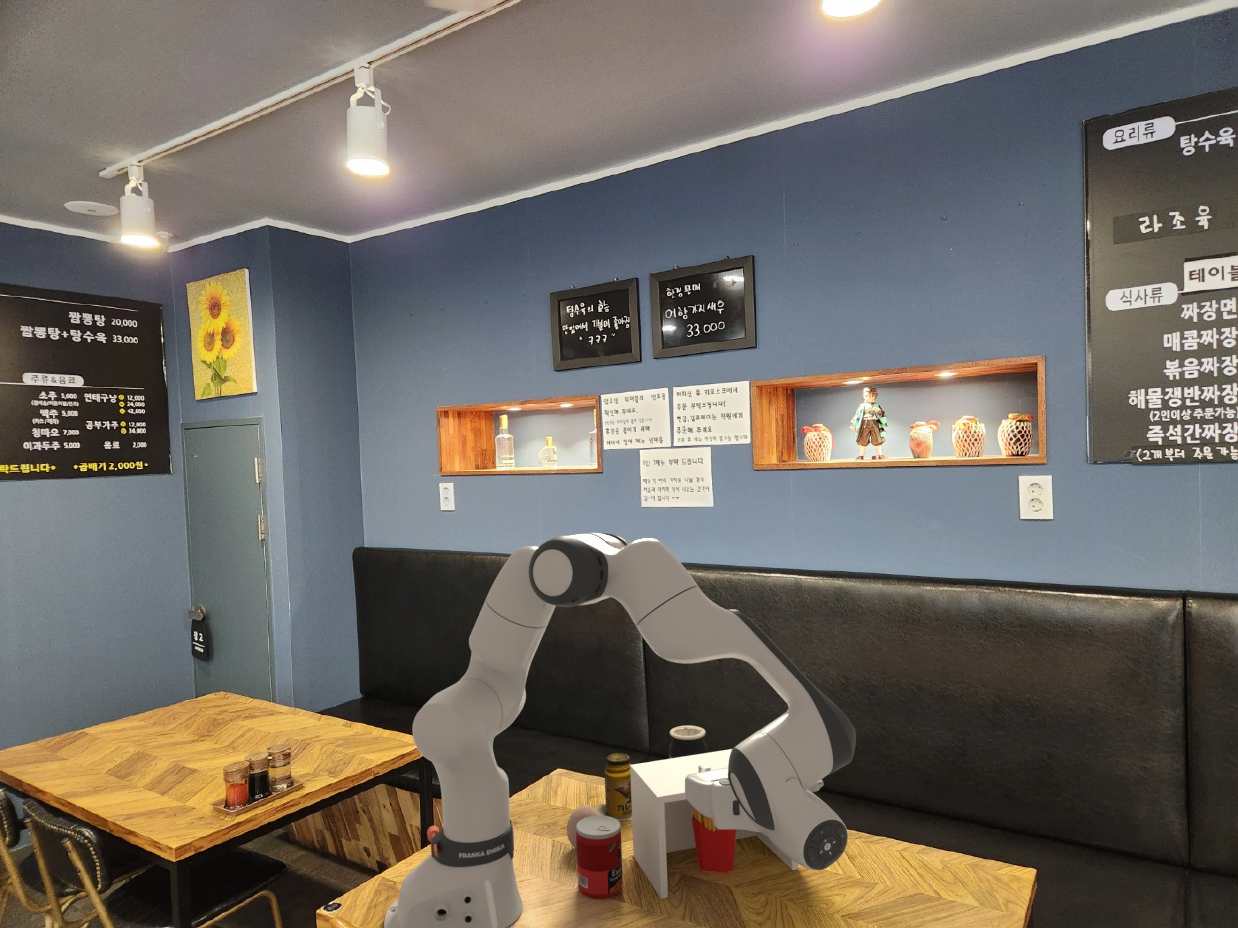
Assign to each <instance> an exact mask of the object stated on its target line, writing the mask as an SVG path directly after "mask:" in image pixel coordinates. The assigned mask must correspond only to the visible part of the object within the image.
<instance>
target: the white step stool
mask: <svg viewBox="0 0 1238 928" xmlns="http://www.w3.org/2000/svg"><path fill="white" fill-rule="evenodd" d="M732 749H733V748H730V749H725V750H717V751H710V752H708V753H704V754H697V755H691V756H685V757H678V758H672V759H670V758H667V759H660V760H653V761H649V762H642V763H635V764H631V765H630V774H631V801H632V820H631V825H632V850H633V851H632V852H633V855H632V856H633V858H634V859H635V861H636V863H638V865H639V867H640V868H641V870H642V871H643V873H644V874H645V876H646V878H647V880H649V881H650V884H651V886H652V887H653V888H654V890H655V891H656V893H657V894H658V896H659V897H660V899H665V898H668V897H669V895H668V894H669V893H668V892H669V891H668V890H669V889H668V869H667V868H668V864H667V854H668V853H673V852H679V851H685V850H689V849H694V848H695V849H696V844H695V837H694V830H693V822H692V818H693V815H694V811H693V806H692V805H691V804H690V803H689V802H688V800H687V798H686V795H685V778H686V776H687V775H689V774H694V773H699V771H698V767H699V766H700V765H708V766H709V767H711V770H717V769H722V768H728V764H729V757H730V753H731V751H732ZM755 836H756V837H757V838H758V839H759V840H760V841H761V842H762V843H764V845H766V847H768V849H769V850H771V851H772V852H773V853H774V854H775V855H776V857H778V858H779V859H780V860H781V861H782V862H783V863H784V864H785V865H786V866H787V867H789V869H791V870H792V871H795V870H797V871H798V870H799V864H798V863H797V862H795V861H793V860H792V859H791V858H789V857H788V856H787V855H785V854H784V853H783V852H782V851H781V850H780V849H778V848H777V847H776V846H775V845H774V844H773V843H772V842H771V840H770V839H769V837H768V836H766V835H764V834H763V833H761V832H755V831H749V830H741V829H736V839H735V841H736V840H740V839H747V838H751V837H755Z"/></svg>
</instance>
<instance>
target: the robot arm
mask: <svg viewBox="0 0 1238 928" xmlns="http://www.w3.org/2000/svg"><path fill="white" fill-rule="evenodd" d="M606 599H615V600H616V601H617V602H619V603H620V604H621V605H622V606H623V608H624V609H625V611H626V612H627V614H628V615H629V617H630V618H631V620H632V622H633V623H634V625H635V627H636V629H637V631H638V632H639V633H640V635H641V636H642V638H643V639H644V640H645V642H646V643H647V644H648V646H649V648H650V649H651V650H652V651H653V653H655V654H656V655H657V656H658V657H660V658H662V659H663V660H666V661H668V662H672V663H677V664H695V663H698V664H699V663H704V662H708V661H713V660H718V659H730V658H731V659H732V658H733V659H737V660H738V659H739V660H741V661H745V662H746V663H748V664H750V665H751V666H752V667H753V668H754V669H755V670H756V671H757V672H758V673H759V674H760V676H762V677H763V679H764V680H765V681H766V683H768V684H769V686H770V687H772V689H773V690H775V692H776V693H777V694H778V695H779V696H780V698H781V699H783V701H784V702H785V703H786V705H787V706H788V708H787V710H786V711H785V712H784V713H782V715H780V716H779V717H777V718H775V719H774V720H773V721H771V722H769V723H768V724H767V725H765V726H764V727H762V728H761V729H759V730H757V731H756V732H754V733H753V734H751V735H750V736H748V737H747V738H745V739H744V740H743V741H741V742H739V743H738V744H737V745H735V746H734V747H733V748H731V749H732V751H731V753H730V757H729V764H728V768H722V769H717V770H711V767H709V766H708V765H700V766H699V767H698V771H699V773H694V774H689V775H687V776H686V778H685V795H686V798H687V800H688V802H689V803H690V804H691V805H692V806H693V807H694V808H695V809H696V810H697V811H699V812H700V813H701V814H702V815H704V816H706V817H709V818H713V823H714V826H715V827H716V828H718V829H741V830H749V831H755V832H761V833H763V834H764V835H766V836H768V837H769V839H770V840H771V842H772V843H773V844H774V845H775V846H776V847H777V848H778V849H780V850H781V851H782V852H783V853H784V854H785V855H787V856H788V857H789V858H791V859H792V860H793V861H795V862H797V863H798V865H800V866H802V867H803V868H806V869H808V870H811V871H822V870H826V869H827V868H829V867H831V866H832V865H833V864H834V863H835V862H837V861H838V860H839V859H840V857H842V855H843V854H844V852H845V849H846V848H847V845H848V839H849V838H848V837H849V832H848V829H847V826H846V825H845V823H844V822H843V820H842V819H841V818H840V817H839V815H838V814H837V813H836V811H834V810H833V809H832V808H831V807H830V806H829V805H828V804H827V803H826V802H825V801H823V800H822V799H821V798H820V797H818V796H817V795H816V794H815V792H819V791H820V789H821V788H822V787H823V786H824V780H823V779H824V778H825V777H827V776H828V775H832V774H834V773H836V772H837V771H838V770H841V769H842V768H844V767H846V766H847V765H849V764H851V763H852V761H853V757H854V754H855V749H856V741H857V740H856V739H857V734H856V732H857V731H856V729H855V726H854V725H853V723H852V722H851V720H850V718H848V716H847V715H846V714H845V713H844V711H843V710H842V709H841V708H840V707H839V706H838V705H837V704H836V703H834V702H833V701H832V700H831V699H830V698H829V697H828V696H826V695H825V693H823V692H822V691H821V690H820V689H819V688H818V687H816V685H815V684H814V683H813V682H812V681H811V680H809V678H808V677H807V676H806V675H805V674H804V673H803V672H802V671H801V670H800V669H799V668H798V666H796V664H795V663H793V661H792V660H791V659H790V658H789V657H788V656H787V655H786V654H785V653H784V652H783V651H782V649H780V647H779V646H777V644H776V643H775V642H774V641H773V640H772V639H771V638H770V636H768V635H767V634H766V633H765V632H764V631H763V630H762V629H761V628H760V627H759V626H758V625H757V624H756V623H755V622H754V621H753V620H752V619H751V618H749V617H748V616H747V615H745V613H743V612H741V610H738V609H726V608H724V607H723V606H722V607H721V606H720V605H718V604H717V603H715V602H714V601H712V600H711V599H710V598H708V596H707V595H706V594H705V593H704V592H703V591H702V589H701V588H700V587H699V585H698V583H697V582H696V581H695V580H694V578H693V577H692V575H691V574H690V573H689V571H688V570H687V569H686V567H685V566H684V565H683V564H682V562H681V561H680V560H679V559H678V558H677V557H676V555H674V553H673V552H672V551H671V550H670V549H669V548H668V547H667V546H666V545H665V544H663V542H662V541H660V540H659V539H655V538H652V537H651V538H647V537H646V538H641V539H636V540H634V541H631V542H628V541H627V540H625V539H624V538H622V537H621V536H618V535H615V534H612V533H607V532H606V533H605V532H604V533H600V532H599V533H597V532H581V533H578V534H571V535H558V536H556V537H553V538H551V539H548V540H547V541H545V542H543V543H542V544H540V545H539V546H534V545H525V546H521V547H519V548H517V549H515V550H514V551H513V552H512V553H511V554H510V555H509V557H508V558H507V560H506V561H505V562H504V565H503V566H502V567H501V569H500V571H499V572H498V575H497V576H496V578H495V579H494V581H493V584H492V586H491V587H490V589H489V591H488V594H487V595H486V598H485V600H484V602H483V605H482V606H481V609H480V611H479V615H478V617H477V619H476V622H475V623H474V626H473V628H472V630H471V633H470V635H469V639H468V645H469V649H470V651H471V653H470V655H471V656H470V661H469V665H468V668H467V670H466V672H465V674H464V675H463V676H462V677H461V678H460V679H459V680H458V681H457V682H455V683H454V684H452V685H450V686H449V687H446V688H445V689H442V690H440V691H439V692H436V694H434V695H433V696H432V697H431V698H430V699H429V700H428V701H427V702H425V704H423V706H422V707H421V708H420V710H419V711H418V712H417V713H416V715H415V717H414V719H413V722H412V730H411V731H412V737H413V742H414V745H415V746H416V748H417V750H418V751H419V753H420V754H421V755H422V756H423V757H424V758H426V759H427V760H428V761H430V762H432V765H433V766H434V768H435V771H436V773H437V777H438V781H439V785H440V793H441V805H442V806H441V807H442V809H441V810H442V828H441V829H440V828H439V827H438V826H437V825H432V826H430V827H428V829H427V832H426V835H427V840H428V841H429V842H430V854H429V855H428V856H427V857H426V858H425V859H424V860H423V861H421V862H420V863H419V864H418V865H417V866H416V867H415V868H413V869H412V870H411V871H410V872H409V873H407V875H406V876H405V878H404V879H403V880H402V884H401V887H400V889H399V892H398V893H399V894H398V898H397V900H395V901H394V902H393V903H392V904H391V905H390V907H389V908H388V909H387V912H386V913H385V916H384V922H383V928H508V927H510V925H512V924H514V922H516V920H518V918H519V917H520V915H521V914H522V912H523V907H524V903H523V900H522V898H521V894H520V892H519V891H520V890H519V887H518V883H517V879H516V874H515V873H516V872H515V868H514V860H513V858H514V851H515V835H514V834H515V831H514V827H513V822H512V820H511V815H510V811H511V810H510V785H509V783H510V782H509V781H510V780H509V777H508V775H507V773H506V772H505V771H504V769H503V768H501V767H499V765H498V764H497V761H496V758H495V754H494V748H493V747H494V739H495V737H496V736H497V735H499V734H500V733H502V732H503V731H504V730H506V729H507V728H509V727H510V726H511V725H512V724H513V723H514V722H515V720H516V719H517V717H518V716H519V715H520V713H521V712H522V710H523V708H524V705H525V703H526V699H527V693H526V691H527V690H526V683H527V678H528V674H529V670H530V668H531V664H532V661H533V659H534V656H535V654H536V652H537V650H538V647H539V645H540V643H541V640H542V638H543V636H544V634H545V632H546V629H547V627H548V625H549V622H550V620H551V619H552V616H553V613H554V611H555V608H556V607H562V608H572V607H576V606H586V605H591V604H596V603H599V602H600V601H602V600H606Z"/></svg>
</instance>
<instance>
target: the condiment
mask: <svg viewBox="0 0 1238 928" xmlns="http://www.w3.org/2000/svg"><path fill="white" fill-rule="evenodd" d="M605 762H606V763H605V770H604V790H605V792H604V793H605V795H604V796H605V803H597V807H596V811H597V812H598V813H599V815H600V816H609V817H612V818H615V819H617V820H618V821H632V801H631V774H630V765H632V764H631V757H630V756H629V755H628V754H627V753H622V752H616V753H615V752H614V753H610V754H609V755H607V756H606V759H605Z"/></svg>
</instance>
